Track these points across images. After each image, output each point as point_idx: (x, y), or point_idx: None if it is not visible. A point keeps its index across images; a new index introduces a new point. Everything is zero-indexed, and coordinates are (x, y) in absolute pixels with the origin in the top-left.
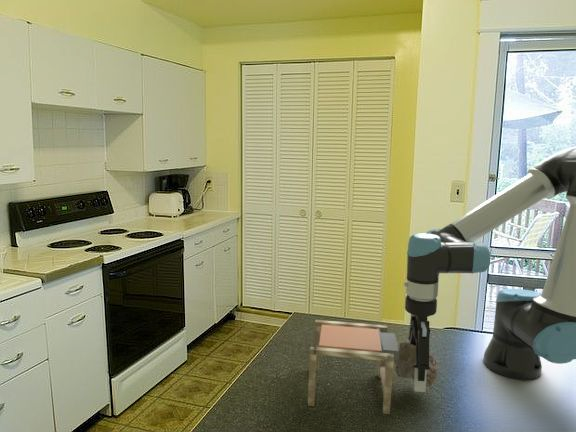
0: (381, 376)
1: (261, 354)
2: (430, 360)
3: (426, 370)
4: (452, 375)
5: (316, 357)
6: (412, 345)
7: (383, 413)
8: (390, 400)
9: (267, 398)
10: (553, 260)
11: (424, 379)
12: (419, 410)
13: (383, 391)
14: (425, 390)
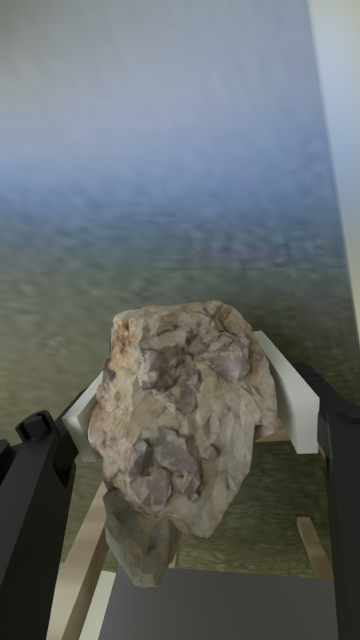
0: None
1: None
2: (181, 363)
3: (307, 385)
4: (42, 232)
5: (176, 564)
6: (117, 501)
7: None
8: None
9: (300, 570)
10: None
11: (311, 369)
12: (272, 327)
13: (280, 438)
14: (263, 333)
